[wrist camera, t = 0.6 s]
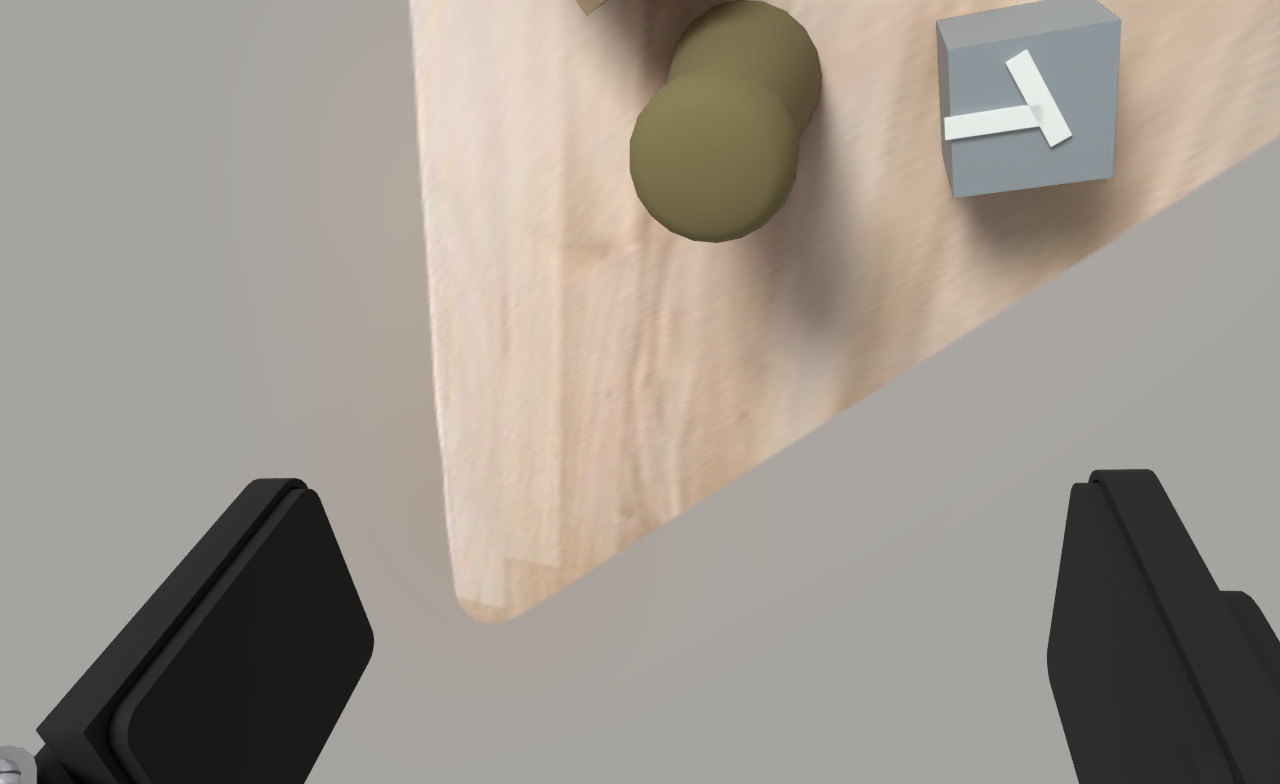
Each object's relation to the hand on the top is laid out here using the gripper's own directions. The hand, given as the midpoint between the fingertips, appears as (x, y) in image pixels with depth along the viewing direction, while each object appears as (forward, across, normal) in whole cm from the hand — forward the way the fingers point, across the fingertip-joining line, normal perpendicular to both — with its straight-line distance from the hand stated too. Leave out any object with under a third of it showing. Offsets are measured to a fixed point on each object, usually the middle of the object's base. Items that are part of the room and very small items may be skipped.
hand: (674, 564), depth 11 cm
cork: (+28, +1, 0) cm, 28 cm away
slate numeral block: (+28, -9, +1) cm, 29 cm away
